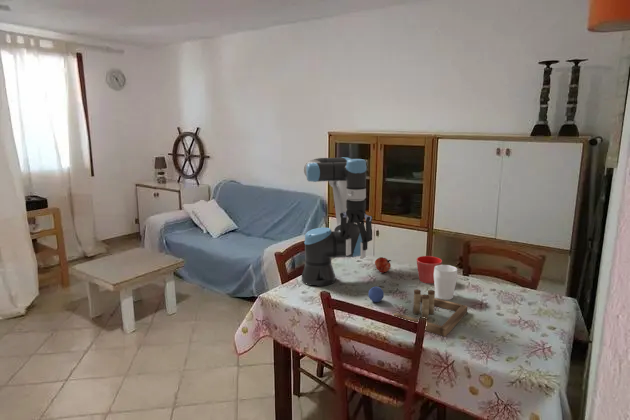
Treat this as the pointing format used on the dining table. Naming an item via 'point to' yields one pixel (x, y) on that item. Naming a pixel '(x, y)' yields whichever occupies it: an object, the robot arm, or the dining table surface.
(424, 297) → the pin
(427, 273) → the flower pot
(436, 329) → the tray
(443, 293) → the cup
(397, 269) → the dining table surface
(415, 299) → the pin front
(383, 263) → the pomegranate
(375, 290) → the ball
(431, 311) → the pin
